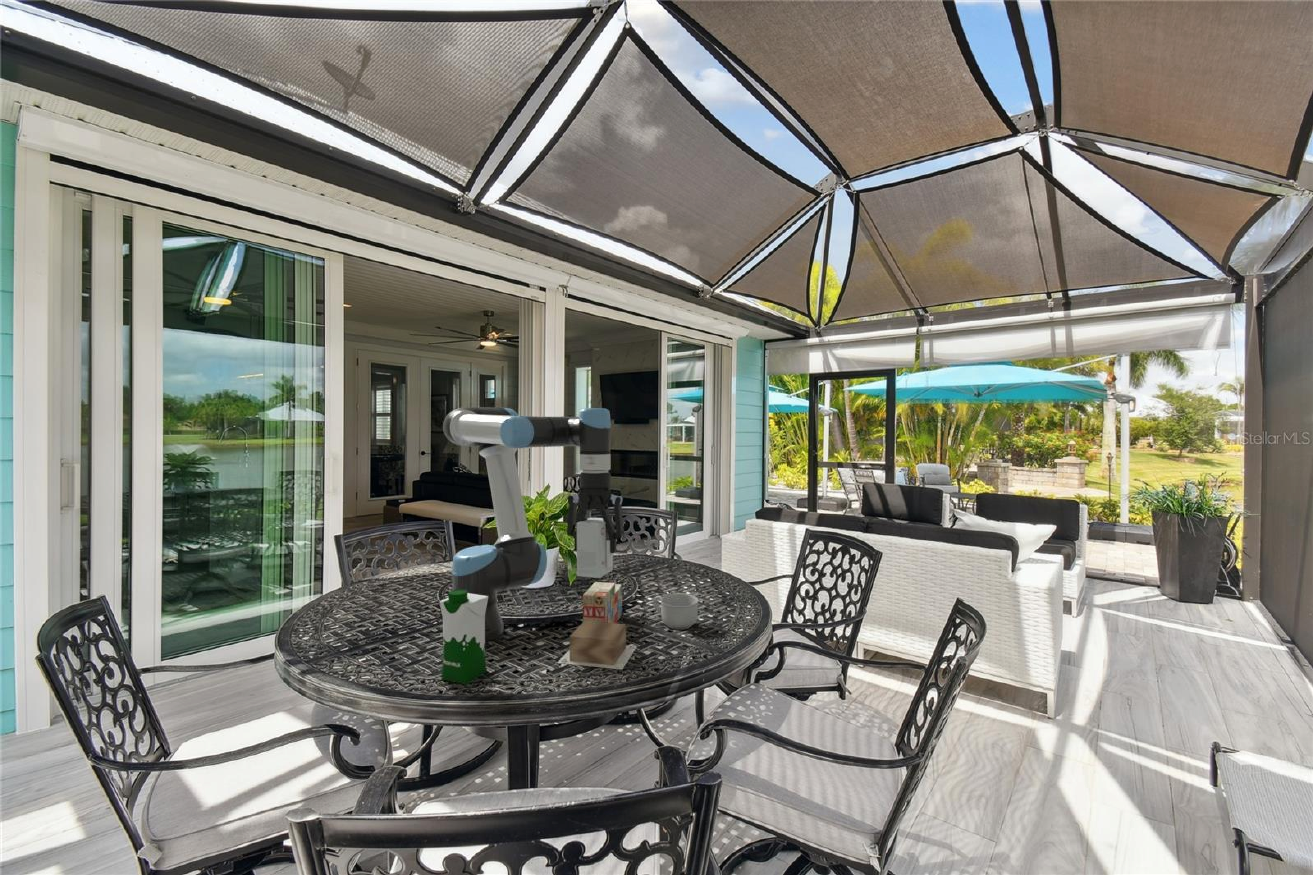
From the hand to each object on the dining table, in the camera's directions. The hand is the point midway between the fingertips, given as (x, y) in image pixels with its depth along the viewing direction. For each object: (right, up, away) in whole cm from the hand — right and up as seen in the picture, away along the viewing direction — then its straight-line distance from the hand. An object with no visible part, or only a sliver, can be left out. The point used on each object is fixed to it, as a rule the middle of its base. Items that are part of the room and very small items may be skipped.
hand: (595, 565), depth 143 cm
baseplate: (+1, -23, +1) cm, 23 cm away
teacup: (+20, -23, +25) cm, 40 cm away
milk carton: (-29, -24, -9) cm, 39 cm away
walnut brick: (+1, -22, +1) cm, 22 cm away
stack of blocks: (0, -23, +24) cm, 33 cm away
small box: (0, -2, 0) cm, 2 cm away
